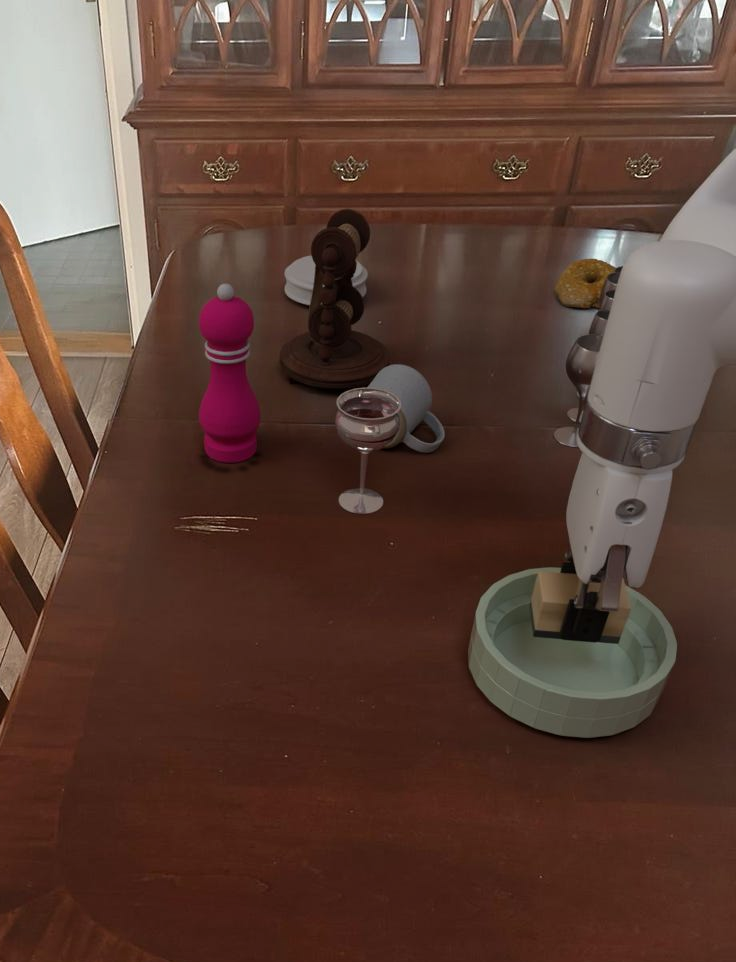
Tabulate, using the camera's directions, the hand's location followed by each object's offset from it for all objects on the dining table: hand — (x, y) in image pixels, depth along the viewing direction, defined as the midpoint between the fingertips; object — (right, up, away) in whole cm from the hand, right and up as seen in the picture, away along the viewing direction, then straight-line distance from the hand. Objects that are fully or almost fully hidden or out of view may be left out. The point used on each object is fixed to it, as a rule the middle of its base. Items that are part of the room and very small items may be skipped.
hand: (575, 618), depth 78 cm
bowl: (0, -5, +5) cm, 7 cm away
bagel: (+24, +50, +63) cm, 84 cm away
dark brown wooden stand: (-17, +34, +47) cm, 60 cm away
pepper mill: (-30, +21, +33) cm, 49 cm away
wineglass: (-15, +14, +25) cm, 32 cm away
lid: (-16, +51, +65) cm, 85 cm away
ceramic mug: (-10, +23, +34) cm, 42 cm away
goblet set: (+16, +29, +41) cm, 53 cm away
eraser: (0, -1, +1) cm, 1 cm away
